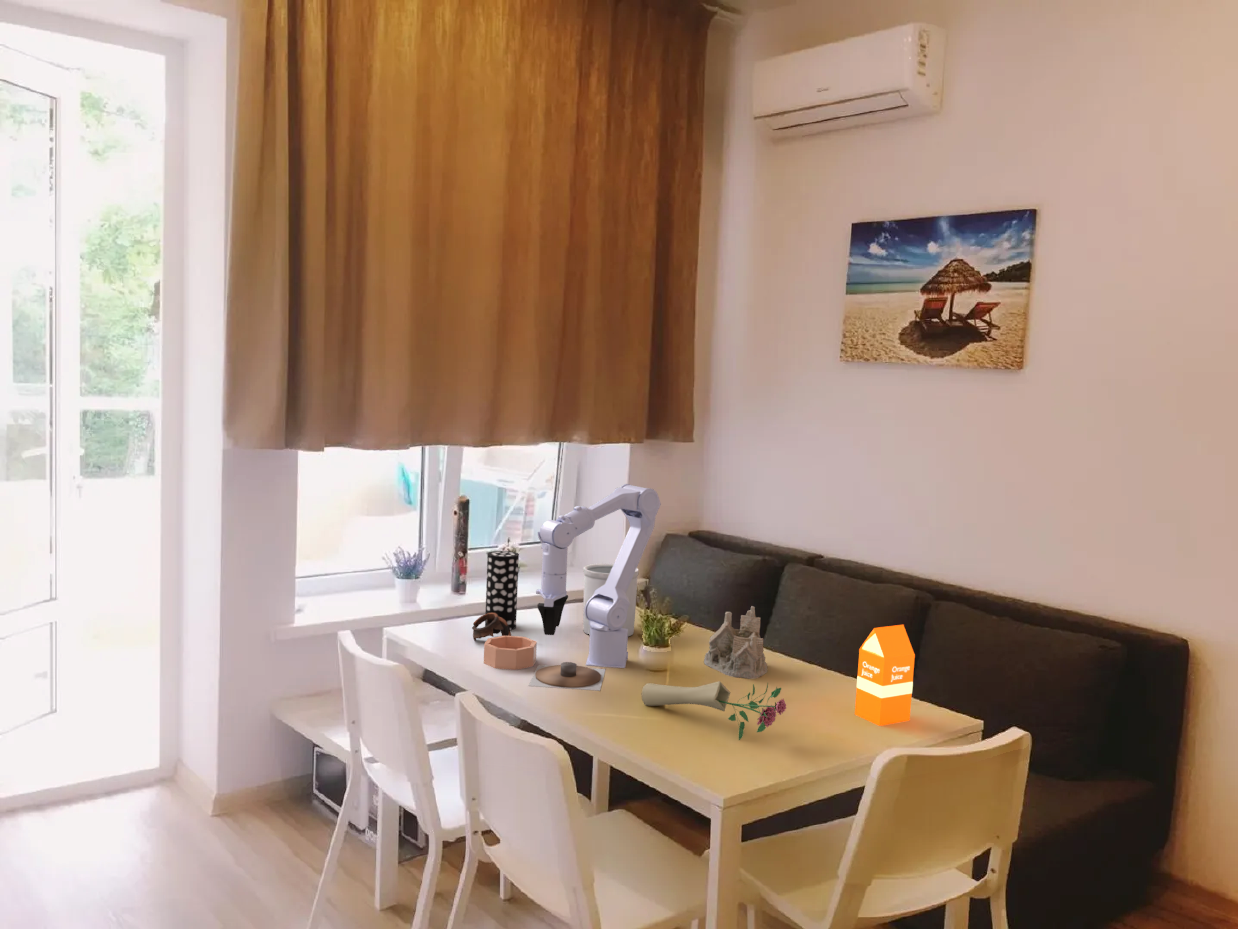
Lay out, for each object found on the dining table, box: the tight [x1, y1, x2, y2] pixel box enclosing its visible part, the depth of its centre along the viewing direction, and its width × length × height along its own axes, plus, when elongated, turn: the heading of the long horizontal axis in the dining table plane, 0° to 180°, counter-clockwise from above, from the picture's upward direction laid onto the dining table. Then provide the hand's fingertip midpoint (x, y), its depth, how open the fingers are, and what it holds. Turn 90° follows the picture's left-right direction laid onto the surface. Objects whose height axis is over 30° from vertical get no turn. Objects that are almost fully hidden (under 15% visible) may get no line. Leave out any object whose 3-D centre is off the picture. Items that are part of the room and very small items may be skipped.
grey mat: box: [527, 664, 606, 692], centre depth 240 cm, size 16×16×1 cm
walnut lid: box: [535, 661, 601, 688], centre depth 240 cm, size 15×15×3 cm
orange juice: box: [854, 624, 916, 727], centre depth 223 cm, size 8×9×20 cm
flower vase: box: [641, 680, 787, 741], centre depth 213 cm, size 12×12×35 cm
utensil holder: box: [582, 563, 640, 637], centre depth 281 cm, size 15×15×18 cm
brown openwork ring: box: [471, 613, 512, 642], centre depth 269 cm, size 12×10×8 cm
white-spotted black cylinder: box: [484, 550, 520, 631], centre depth 281 cm, size 8×8×20 cm
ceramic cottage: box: [703, 605, 768, 680], centre depth 254 cm, size 16×16×15 cm
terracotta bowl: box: [483, 635, 538, 671], centre depth 249 cm, size 12×12×5 cm
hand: (551, 630), depth 242 cm, fingers open, 7 cm apart
